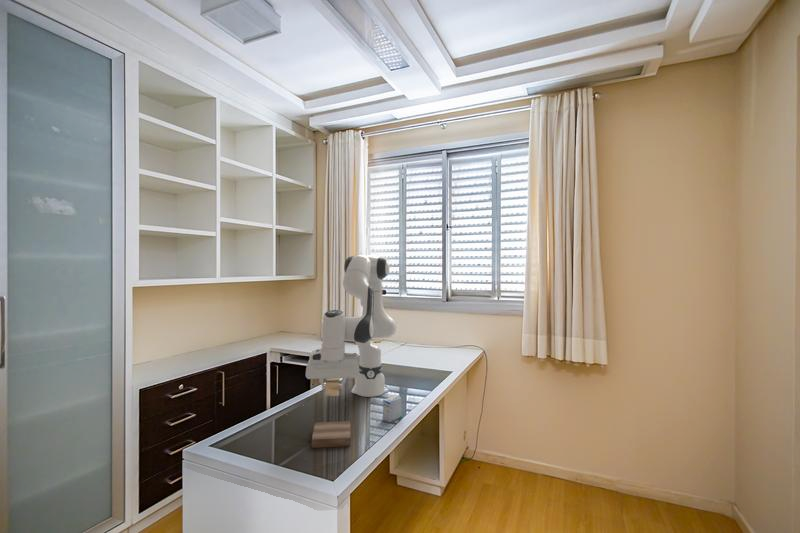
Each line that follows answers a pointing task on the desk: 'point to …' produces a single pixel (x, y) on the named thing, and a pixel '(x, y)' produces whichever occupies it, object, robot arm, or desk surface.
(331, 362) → the robot arm
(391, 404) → the medicine box
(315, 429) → the block
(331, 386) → the oak cube
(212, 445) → the desk surface
